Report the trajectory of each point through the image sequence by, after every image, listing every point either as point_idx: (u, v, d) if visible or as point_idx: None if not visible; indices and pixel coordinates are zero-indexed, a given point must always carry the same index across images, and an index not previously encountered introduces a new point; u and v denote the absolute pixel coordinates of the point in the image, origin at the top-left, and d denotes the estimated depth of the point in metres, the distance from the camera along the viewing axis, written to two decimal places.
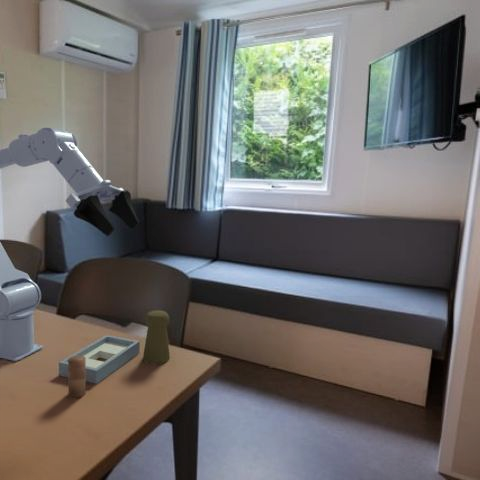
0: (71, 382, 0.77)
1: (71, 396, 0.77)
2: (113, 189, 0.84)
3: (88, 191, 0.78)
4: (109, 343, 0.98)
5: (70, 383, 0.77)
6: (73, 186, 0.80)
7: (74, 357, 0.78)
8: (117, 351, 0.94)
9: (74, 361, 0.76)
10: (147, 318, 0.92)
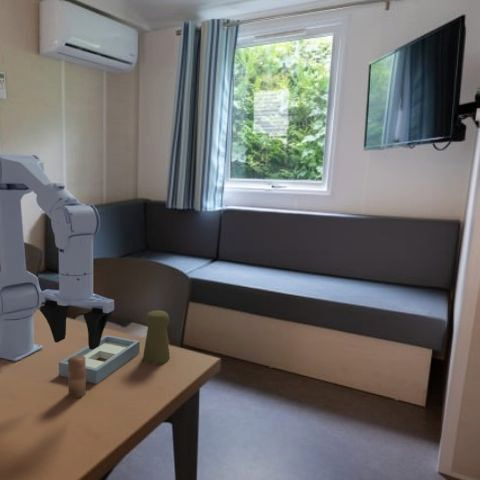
0: (71, 382, 0.77)
1: (71, 396, 0.77)
2: None
3: (51, 298, 0.75)
4: (109, 343, 0.98)
5: (70, 383, 0.77)
6: None
7: (74, 357, 0.78)
8: (117, 351, 0.94)
9: (74, 361, 0.76)
10: (147, 318, 0.92)
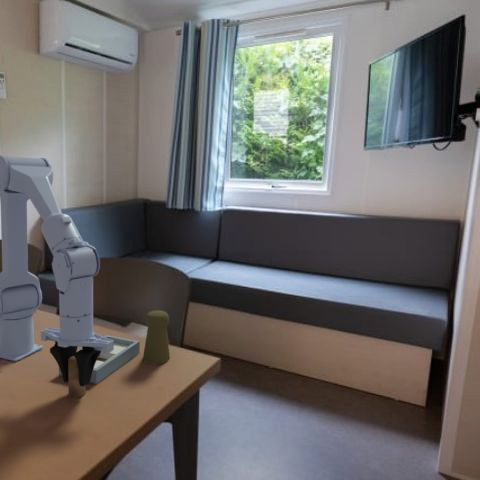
0: (71, 382, 0.77)
1: (71, 396, 0.77)
2: None
3: (52, 338, 0.76)
4: None
5: (70, 383, 0.77)
6: None
7: (74, 357, 0.78)
8: (117, 351, 0.94)
9: (74, 361, 0.76)
10: (147, 318, 0.92)
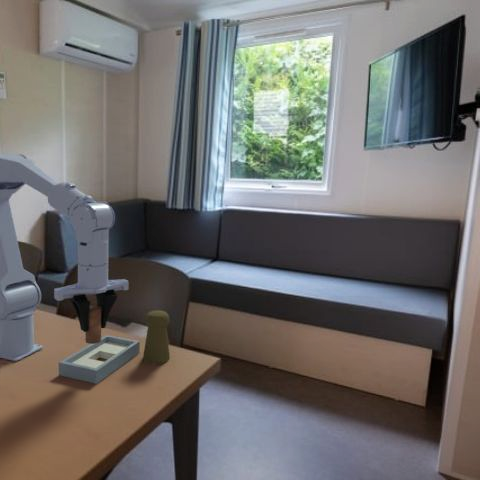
0: (95, 328, 0.84)
1: (95, 342, 0.84)
2: None
3: (77, 292, 0.80)
4: (109, 343, 0.98)
5: (94, 330, 0.83)
6: (78, 269, 0.82)
7: (89, 308, 0.84)
8: (117, 351, 0.94)
9: (96, 309, 0.84)
10: (147, 318, 0.92)
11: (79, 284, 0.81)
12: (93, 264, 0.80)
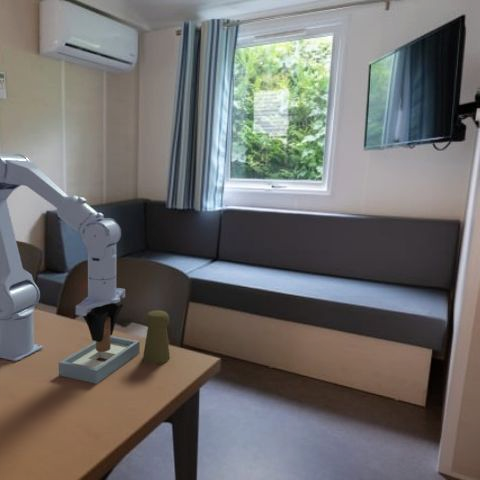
0: (108, 336, 0.90)
1: (108, 349, 0.90)
2: None
3: (98, 305, 0.85)
4: None
5: (107, 338, 0.89)
6: (90, 284, 0.86)
7: None
8: (117, 351, 0.94)
9: (107, 318, 0.90)
10: (147, 318, 0.92)
11: (94, 298, 0.86)
12: (105, 278, 0.86)
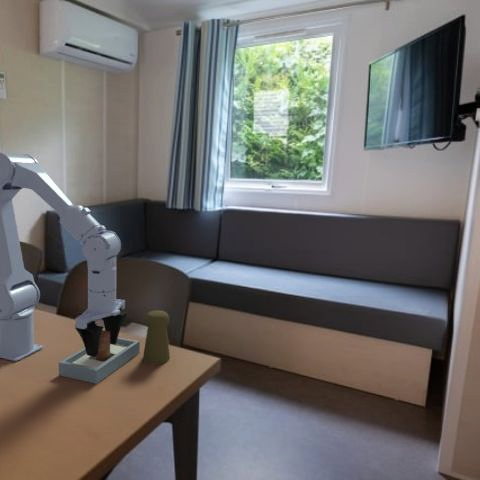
0: (108, 351, 0.90)
1: None
2: None
3: (98, 318, 0.85)
4: None
5: (107, 353, 0.90)
6: (90, 296, 0.87)
7: None
8: (117, 351, 0.94)
9: (107, 333, 0.90)
10: (147, 318, 0.92)
11: (94, 310, 0.87)
12: (105, 290, 0.86)
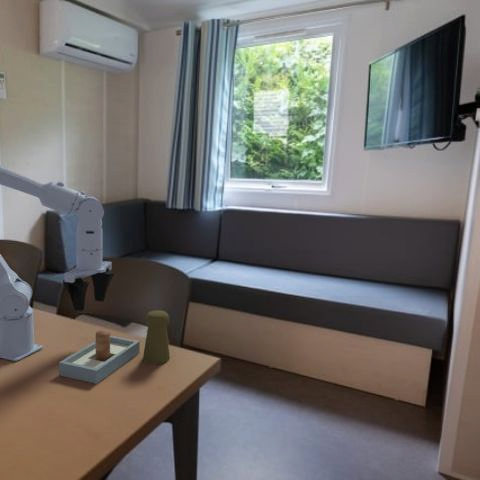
0: (108, 351, 0.90)
1: None
2: None
3: (85, 274, 0.93)
4: None
5: (107, 353, 0.90)
6: (78, 255, 0.95)
7: (99, 333, 0.90)
8: (117, 351, 0.94)
9: (107, 333, 0.90)
10: (147, 318, 0.92)
11: (81, 267, 0.95)
12: (98, 248, 0.95)
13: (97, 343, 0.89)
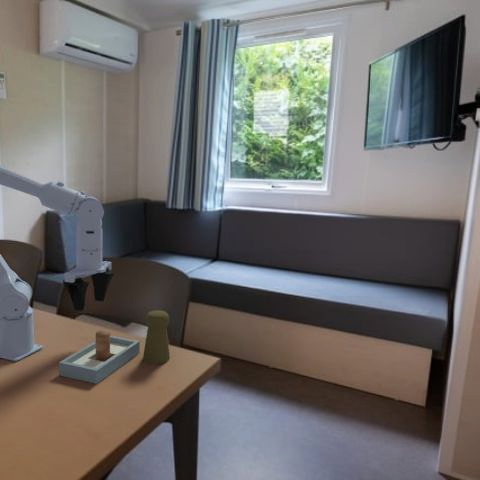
0: (108, 351, 0.90)
1: None
2: None
3: (85, 274, 0.93)
4: None
5: (107, 353, 0.90)
6: (78, 255, 0.95)
7: (99, 333, 0.90)
8: (117, 351, 0.94)
9: (107, 333, 0.90)
10: (147, 318, 0.92)
11: (81, 267, 0.95)
12: (98, 248, 0.95)
13: (97, 343, 0.89)
